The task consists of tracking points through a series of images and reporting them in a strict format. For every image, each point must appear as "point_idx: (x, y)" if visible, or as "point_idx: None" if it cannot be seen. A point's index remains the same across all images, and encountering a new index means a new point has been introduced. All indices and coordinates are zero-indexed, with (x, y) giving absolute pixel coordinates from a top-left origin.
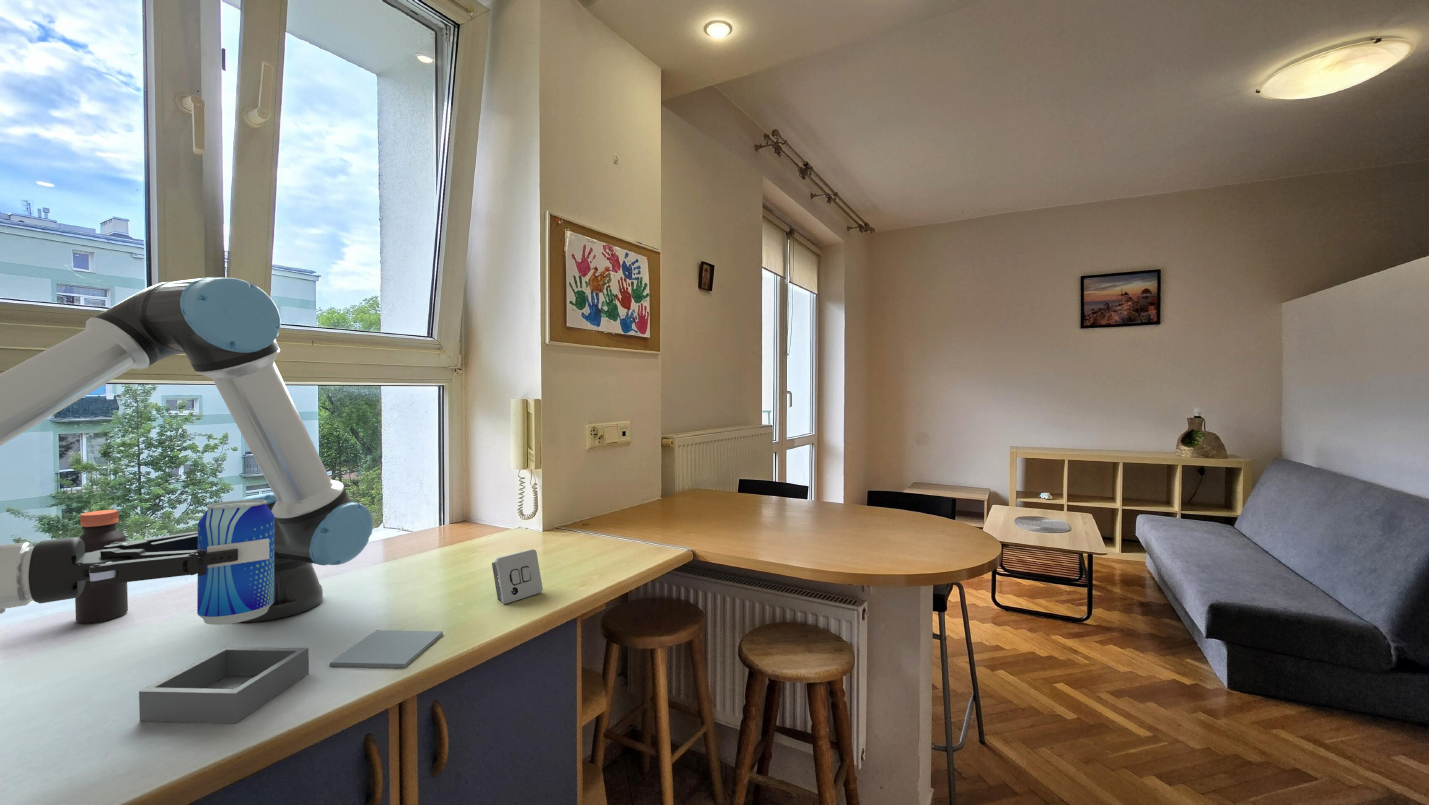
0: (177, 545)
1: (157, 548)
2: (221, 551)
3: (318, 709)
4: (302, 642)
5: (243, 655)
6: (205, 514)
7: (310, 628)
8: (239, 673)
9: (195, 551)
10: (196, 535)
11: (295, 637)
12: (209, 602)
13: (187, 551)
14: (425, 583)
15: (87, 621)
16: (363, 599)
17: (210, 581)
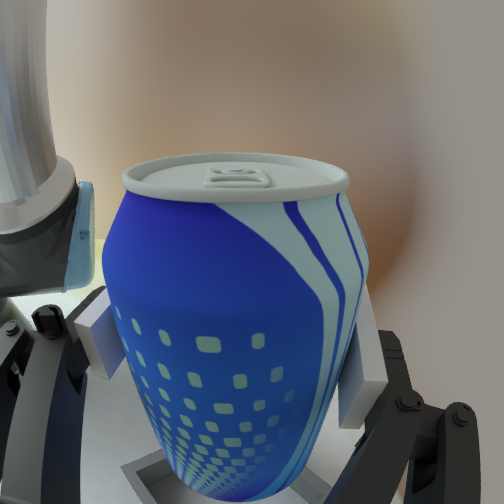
0: (60, 435)
1: (54, 500)
2: (388, 361)
3: (353, 436)
4: (122, 395)
5: (163, 463)
6: (248, 247)
7: (87, 372)
8: (163, 476)
9: (410, 414)
10: (51, 357)
11: (97, 392)
12: (289, 475)
13: (392, 440)
14: (96, 272)
15: None
16: (69, 311)
17: (301, 449)
